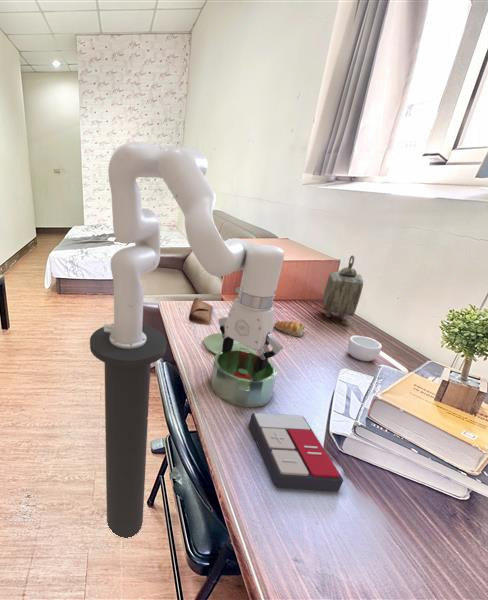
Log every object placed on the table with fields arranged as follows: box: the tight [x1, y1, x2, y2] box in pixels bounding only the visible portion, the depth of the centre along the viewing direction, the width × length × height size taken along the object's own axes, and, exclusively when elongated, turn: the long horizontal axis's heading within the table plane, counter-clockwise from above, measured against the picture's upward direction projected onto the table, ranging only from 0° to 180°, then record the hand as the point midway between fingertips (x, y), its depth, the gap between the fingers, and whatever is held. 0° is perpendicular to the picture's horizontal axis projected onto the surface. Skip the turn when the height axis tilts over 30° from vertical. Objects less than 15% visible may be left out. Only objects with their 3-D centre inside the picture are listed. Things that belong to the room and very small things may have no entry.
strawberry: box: [234, 369, 250, 380], centre depth 80 cm, size 4×4×5 cm
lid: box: [203, 332, 256, 355], centre depth 100 cm, size 16×16×6 cm
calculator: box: [248, 412, 344, 492], centre depth 61 cm, size 11×4×15 cm
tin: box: [210, 347, 278, 408], centre depth 80 cm, size 15×20×8 cm
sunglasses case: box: [188, 297, 214, 325], centre depth 125 cm, size 18×7×7 cm
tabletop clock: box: [322, 255, 364, 326], centre depth 116 cm, size 14×9×25 cm, turn 150°
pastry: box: [274, 320, 306, 337], centre depth 111 cm, size 9×7×4 cm
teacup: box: [347, 335, 383, 362], centre depth 95 cm, size 10×8×5 cm
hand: (242, 360), depth 79 cm, fingers open, 9 cm apart
